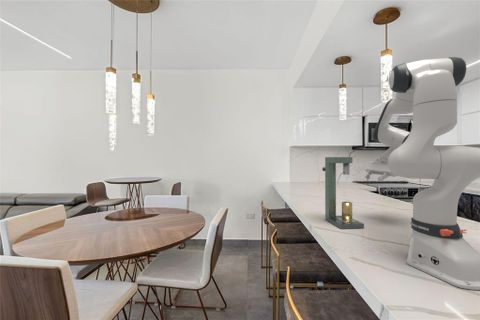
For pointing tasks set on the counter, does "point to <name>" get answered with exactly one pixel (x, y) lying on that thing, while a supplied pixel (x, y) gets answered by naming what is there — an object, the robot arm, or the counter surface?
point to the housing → (347, 211)
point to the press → (331, 192)
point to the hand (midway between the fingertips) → (372, 179)
